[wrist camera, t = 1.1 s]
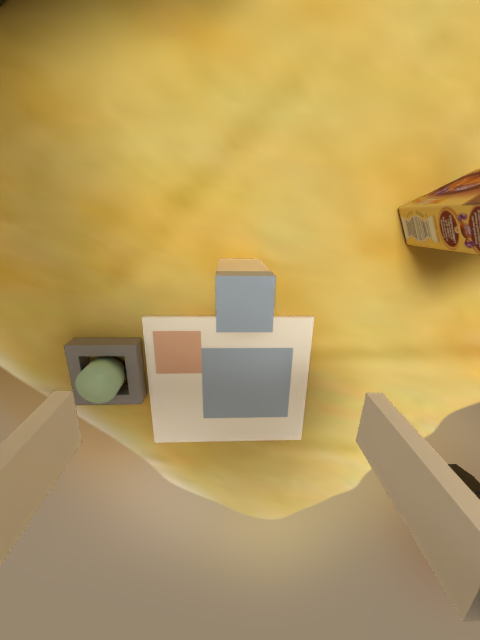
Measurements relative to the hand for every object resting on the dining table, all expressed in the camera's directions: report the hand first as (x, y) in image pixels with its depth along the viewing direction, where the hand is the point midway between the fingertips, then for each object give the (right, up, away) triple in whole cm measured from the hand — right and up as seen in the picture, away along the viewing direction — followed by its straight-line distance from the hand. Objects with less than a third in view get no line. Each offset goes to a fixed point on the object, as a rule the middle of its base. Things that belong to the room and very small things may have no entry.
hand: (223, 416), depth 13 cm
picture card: (-1, -3, +20) cm, 20 cm away
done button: (-13, -1, +17) cm, 22 cm away
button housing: (-13, -1, +18) cm, 23 cm away
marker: (+1, +9, +16) cm, 18 cm away
